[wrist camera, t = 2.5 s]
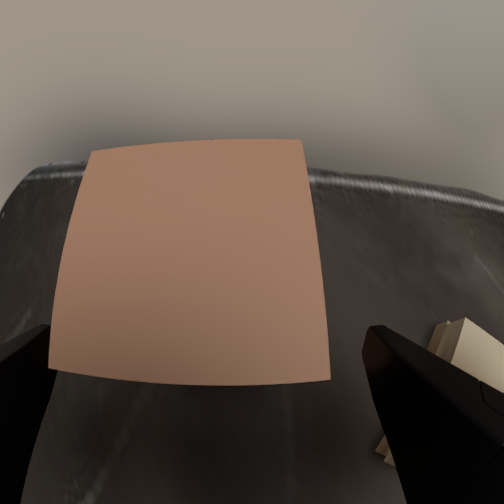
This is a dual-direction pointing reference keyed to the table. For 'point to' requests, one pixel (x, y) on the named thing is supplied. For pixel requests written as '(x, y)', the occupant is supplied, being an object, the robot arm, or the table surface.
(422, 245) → the table surface
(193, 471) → the table surface
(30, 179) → the table surface
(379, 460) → the table surface
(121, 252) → the column
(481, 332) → the top slab
